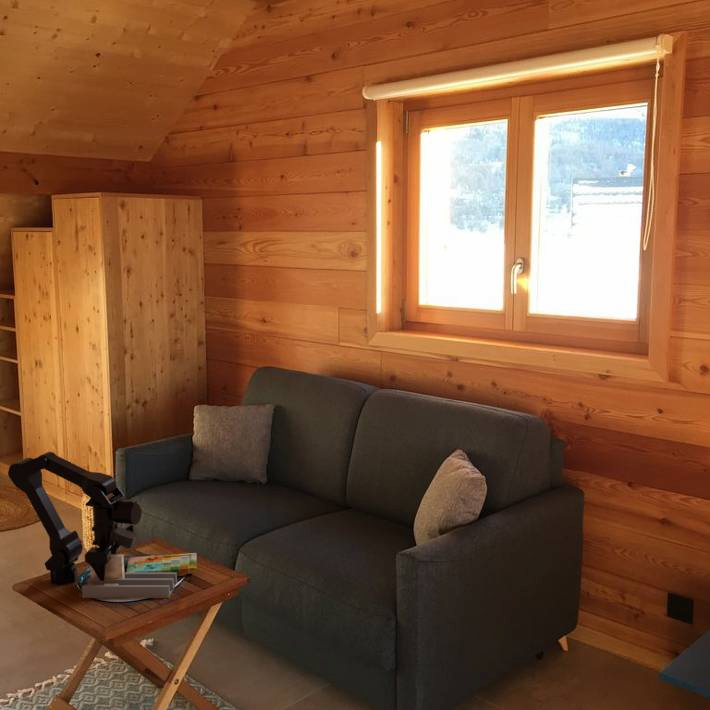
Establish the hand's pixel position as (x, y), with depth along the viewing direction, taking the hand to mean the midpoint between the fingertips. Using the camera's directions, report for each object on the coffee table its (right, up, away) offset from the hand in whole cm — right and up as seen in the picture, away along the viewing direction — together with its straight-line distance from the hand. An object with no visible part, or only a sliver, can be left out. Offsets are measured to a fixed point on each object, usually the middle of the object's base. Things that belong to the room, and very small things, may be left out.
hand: (107, 573), depth 248 cm
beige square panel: (0, -4, +1) cm, 4 cm away
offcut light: (+2, -4, -4) cm, 6 cm away
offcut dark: (-3, -4, -4) cm, 6 cm away
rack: (+7, -5, -2) cm, 9 cm away
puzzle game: (+13, -4, +12) cm, 18 cm away
